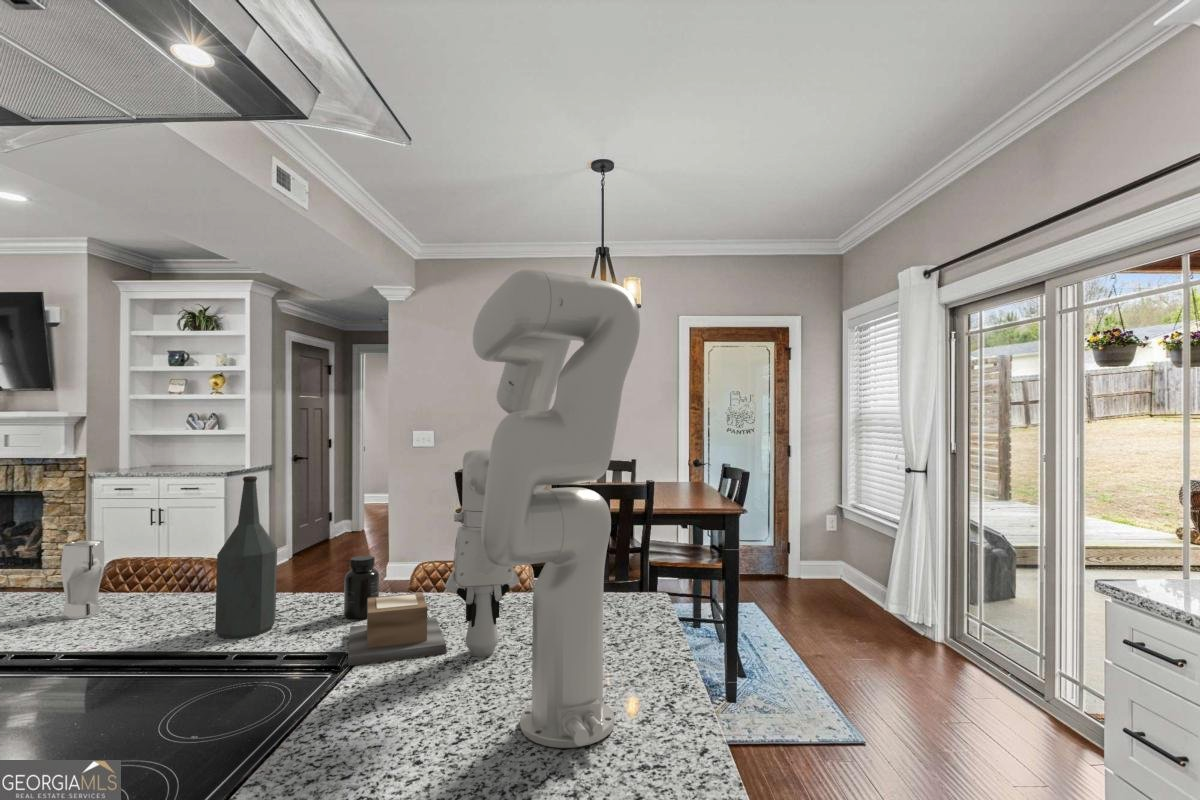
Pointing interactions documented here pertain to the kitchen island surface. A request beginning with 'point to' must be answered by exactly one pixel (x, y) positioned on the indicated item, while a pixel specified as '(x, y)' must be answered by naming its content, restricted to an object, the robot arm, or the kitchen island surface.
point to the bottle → (246, 574)
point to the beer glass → (82, 577)
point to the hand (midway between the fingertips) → (482, 622)
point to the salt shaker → (482, 624)
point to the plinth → (394, 649)
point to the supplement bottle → (360, 587)
